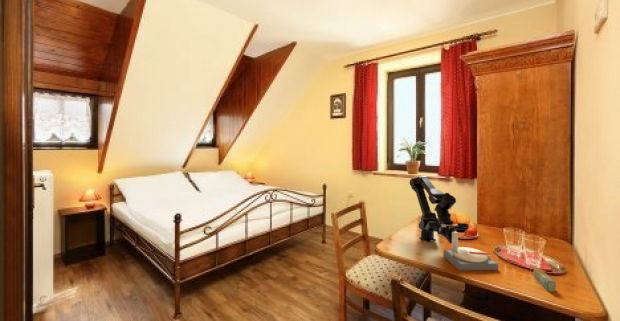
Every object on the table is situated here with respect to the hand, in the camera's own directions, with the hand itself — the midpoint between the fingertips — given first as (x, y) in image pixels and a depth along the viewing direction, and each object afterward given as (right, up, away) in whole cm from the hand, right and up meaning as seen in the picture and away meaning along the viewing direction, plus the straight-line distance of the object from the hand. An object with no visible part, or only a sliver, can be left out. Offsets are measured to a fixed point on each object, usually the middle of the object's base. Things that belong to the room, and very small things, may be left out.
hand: (451, 243), depth 133 cm
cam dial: (+8, -5, -2) cm, 10 cm away
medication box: (+26, -10, -21) cm, 35 cm away
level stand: (+7, -8, -2) cm, 11 cm away
